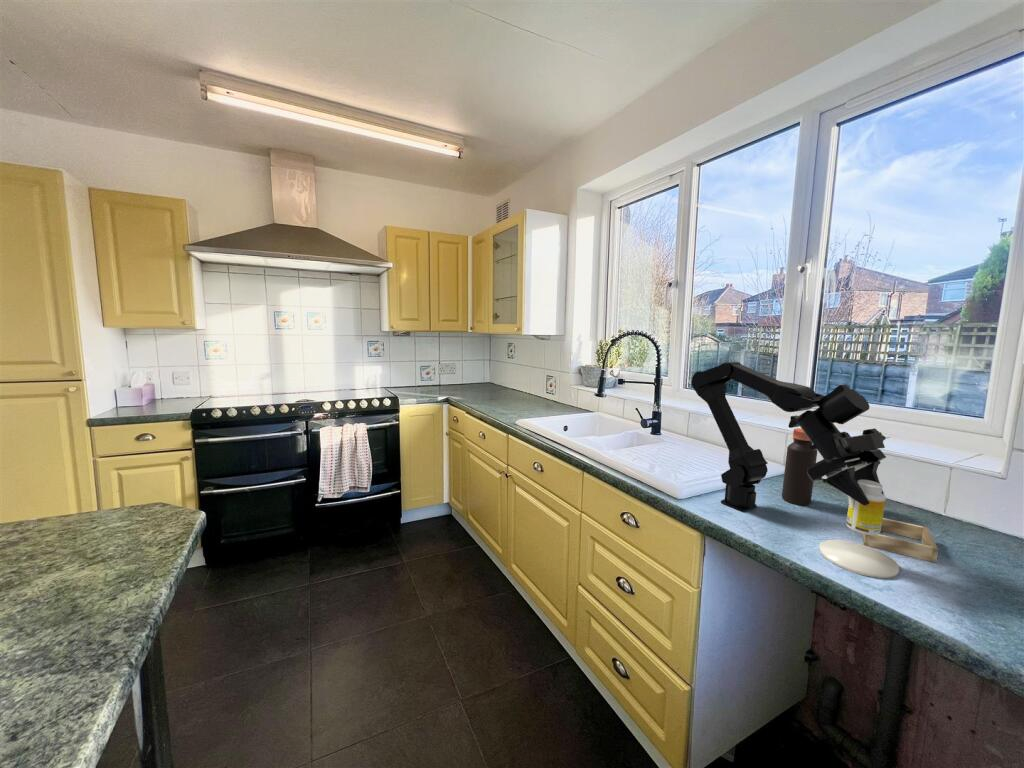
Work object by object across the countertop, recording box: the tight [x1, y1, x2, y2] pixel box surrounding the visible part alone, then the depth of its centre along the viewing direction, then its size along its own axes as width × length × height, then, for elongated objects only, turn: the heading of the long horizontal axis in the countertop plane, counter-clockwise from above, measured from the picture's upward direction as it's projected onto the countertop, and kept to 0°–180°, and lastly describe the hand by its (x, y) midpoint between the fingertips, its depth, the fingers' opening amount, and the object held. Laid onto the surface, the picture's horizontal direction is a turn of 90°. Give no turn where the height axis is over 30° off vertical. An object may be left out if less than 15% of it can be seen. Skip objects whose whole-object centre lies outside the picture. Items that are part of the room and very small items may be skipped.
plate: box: [818, 539, 900, 579], centre depth 89 cm, size 13×13×1 cm
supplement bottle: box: [845, 480, 887, 535], centre depth 87 cm, size 6×6×10 cm
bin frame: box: [861, 517, 939, 564], centre depth 96 cm, size 12×12×3 cm
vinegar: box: [781, 427, 818, 506], centre depth 116 cm, size 7×7×20 cm
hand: (875, 502), depth 86 cm, fingers closed on supplement bottle, 5 cm apart
